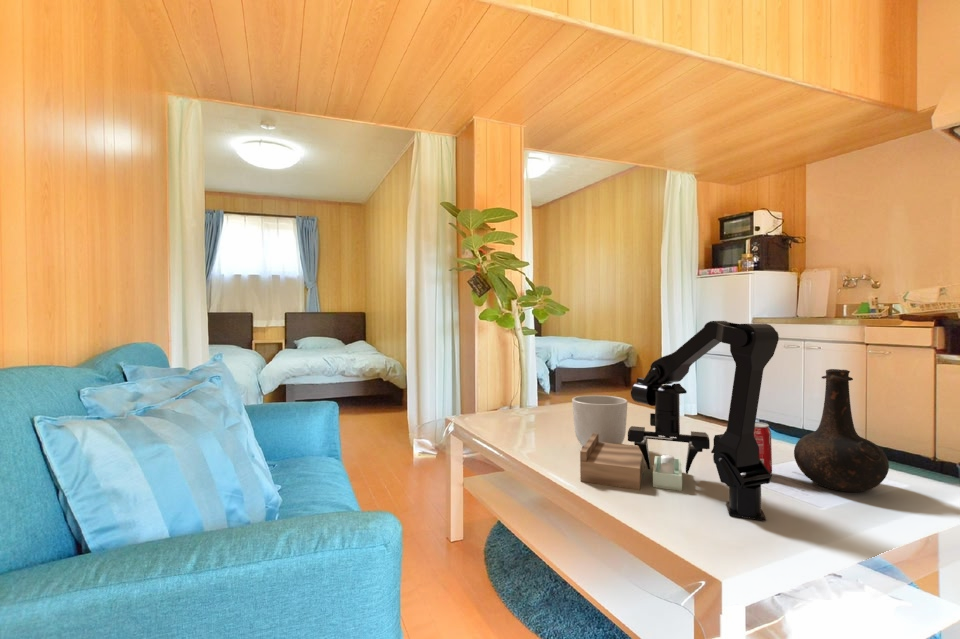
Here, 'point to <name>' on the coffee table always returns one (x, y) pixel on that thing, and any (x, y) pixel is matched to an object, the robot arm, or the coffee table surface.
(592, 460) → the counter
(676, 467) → the tray
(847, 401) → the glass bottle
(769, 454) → the soda can
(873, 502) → the coffee table surface
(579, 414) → the planter
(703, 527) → the coffee table surface
